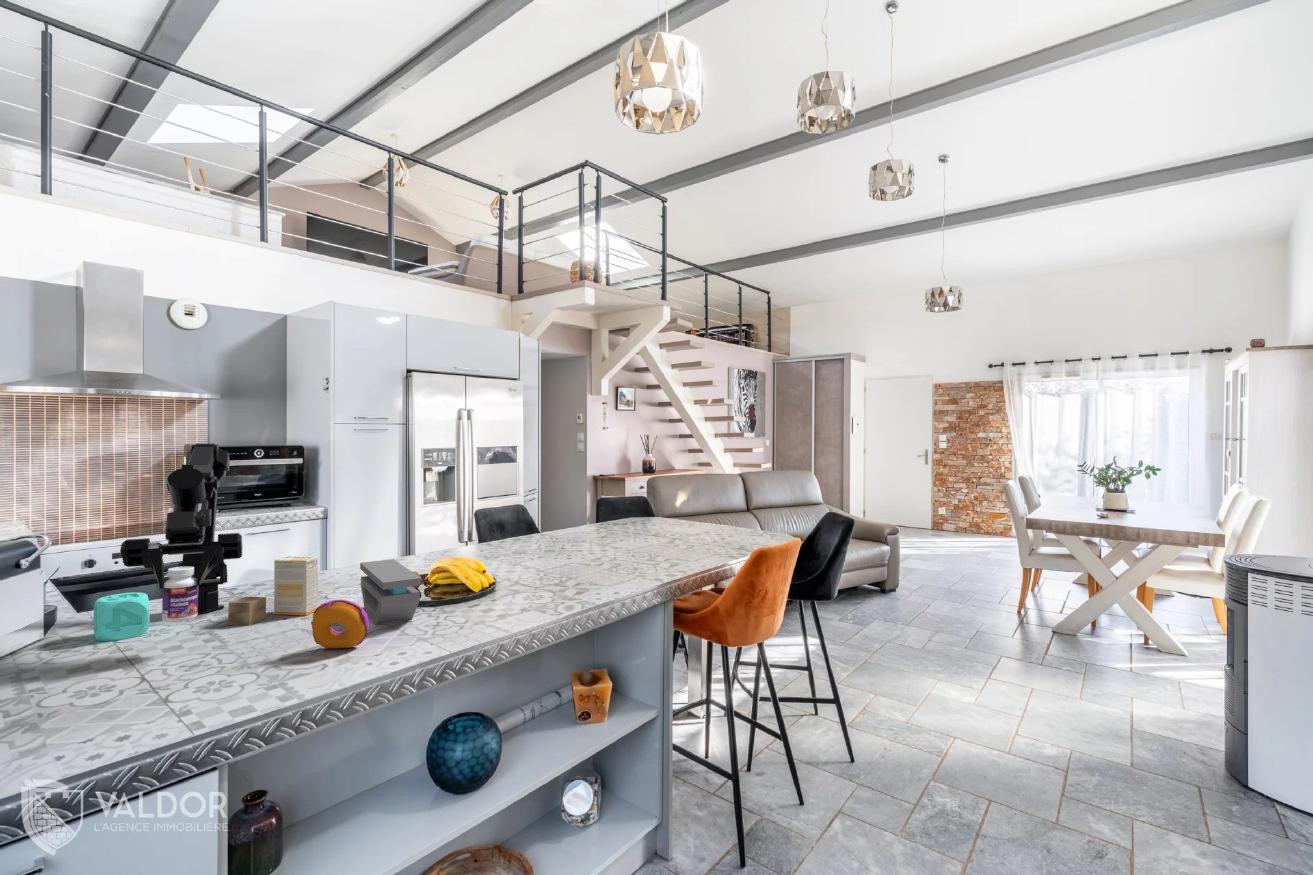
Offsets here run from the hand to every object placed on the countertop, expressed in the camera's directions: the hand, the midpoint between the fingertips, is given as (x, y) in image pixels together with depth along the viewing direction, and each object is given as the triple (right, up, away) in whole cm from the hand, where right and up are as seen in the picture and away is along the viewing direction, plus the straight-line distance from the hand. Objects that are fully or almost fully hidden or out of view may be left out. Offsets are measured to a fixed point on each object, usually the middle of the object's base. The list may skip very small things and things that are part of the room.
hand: (179, 585), depth 114 cm
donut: (+28, -14, +4) cm, 32 cm away
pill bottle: (-1, -7, +1) cm, 7 cm away
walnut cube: (-2, -13, +21) cm, 25 cm away
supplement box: (+5, -14, +28) cm, 32 cm away
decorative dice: (-21, -13, +11) cm, 27 cm away
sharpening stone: (+28, -14, +27) cm, 41 cm away
